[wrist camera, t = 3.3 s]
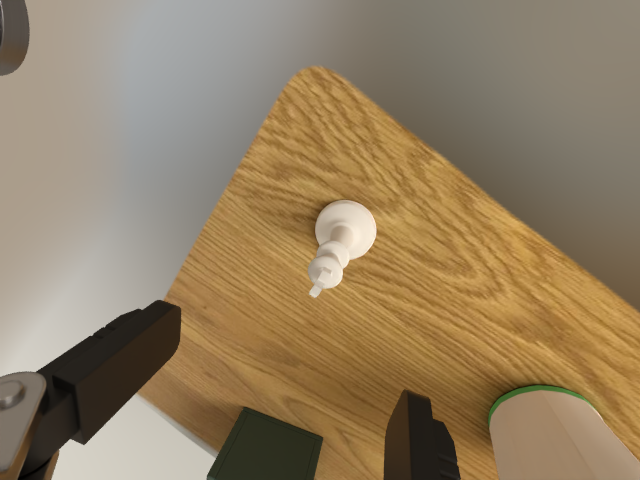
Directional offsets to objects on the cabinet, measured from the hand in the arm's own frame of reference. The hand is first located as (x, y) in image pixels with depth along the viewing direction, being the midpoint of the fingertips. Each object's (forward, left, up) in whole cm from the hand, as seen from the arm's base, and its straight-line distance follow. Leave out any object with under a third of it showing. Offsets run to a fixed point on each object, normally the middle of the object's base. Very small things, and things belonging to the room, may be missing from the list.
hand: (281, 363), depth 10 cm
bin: (-1, -29, -15) cm, 33 cm away
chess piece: (0, 0, -15) cm, 15 cm away
